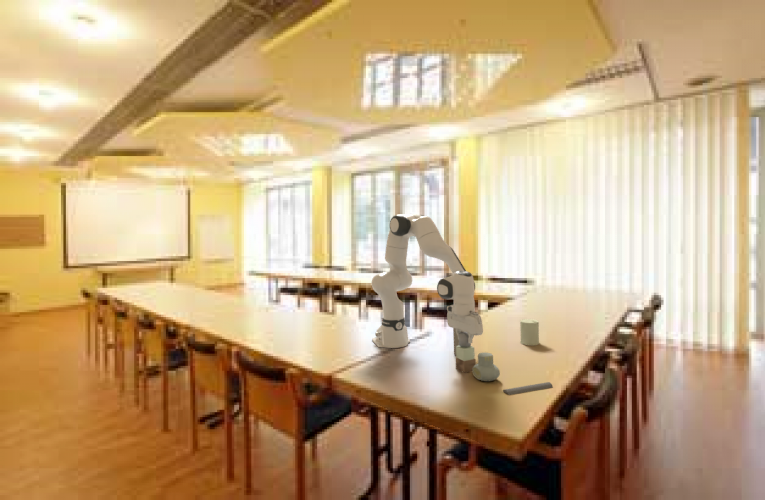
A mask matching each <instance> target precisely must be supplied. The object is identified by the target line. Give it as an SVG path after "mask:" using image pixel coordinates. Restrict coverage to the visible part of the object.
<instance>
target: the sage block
mask: <svg viewBox="0 0 765 500" xmlns="http://www.w3.org/2000/svg"><path fill="white" fill-rule="evenodd" d="M475 354H476V353H475V346H472V345H471V346H468V347H463V346H456V355H455V356H456V357H455V359H456V358H458V359H461V360H463V361H467V360H472V359H476V358H475V356H476V355H475Z"/></svg>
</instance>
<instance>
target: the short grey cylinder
mask: <svg viewBox="0 0 765 500" xmlns="http://www.w3.org/2000/svg"><path fill="white" fill-rule="evenodd" d="M468 338H469V335H468V333H467V332H460V333H459V346H463V347H468V346H472V343H467V339H468Z"/></svg>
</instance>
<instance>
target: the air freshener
mask: <svg viewBox="0 0 765 500" xmlns="http://www.w3.org/2000/svg"><path fill="white" fill-rule="evenodd" d="M471 372H472V375H473V376H474V377H475V378H476V379H477V380H479V381H480V380H481V381H480V382H493V381H495V380H497V379H498V378H499V377H500V375H501V374H500V373H501V371H500V369H499V367H498V366H497V365H496V364H494V355H493V354H492V353H490V352H480V353H478V355H477V363H476V365H475V366H474V367H473V368H472V371H471Z"/></svg>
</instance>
